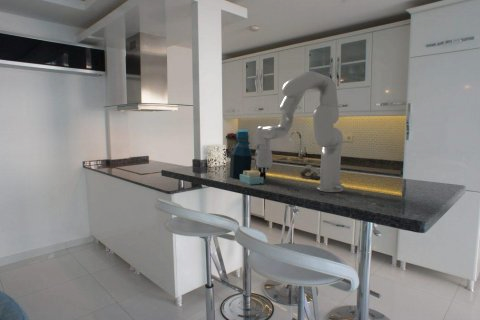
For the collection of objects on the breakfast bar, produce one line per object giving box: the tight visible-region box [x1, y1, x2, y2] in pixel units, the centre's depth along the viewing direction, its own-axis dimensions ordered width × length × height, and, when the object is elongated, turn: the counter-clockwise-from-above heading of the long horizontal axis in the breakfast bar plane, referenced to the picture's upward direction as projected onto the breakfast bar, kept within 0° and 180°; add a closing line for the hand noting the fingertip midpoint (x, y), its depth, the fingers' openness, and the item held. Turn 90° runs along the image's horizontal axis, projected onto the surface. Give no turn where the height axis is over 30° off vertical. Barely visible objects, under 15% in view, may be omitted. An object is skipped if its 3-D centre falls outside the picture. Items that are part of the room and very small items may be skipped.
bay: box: [239, 174, 265, 185], centre depth 175 cm, size 12×9×4 cm
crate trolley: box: [243, 169, 260, 178], centre depth 175 cm, size 8×7×6 cm
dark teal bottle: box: [229, 129, 253, 180], centre depth 193 cm, size 21×14×30 cm, turn 179°
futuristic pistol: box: [299, 164, 321, 181], centre depth 187 cm, size 2×15×10 cm, turn 53°
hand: (262, 178), depth 178 cm, fingers closed
